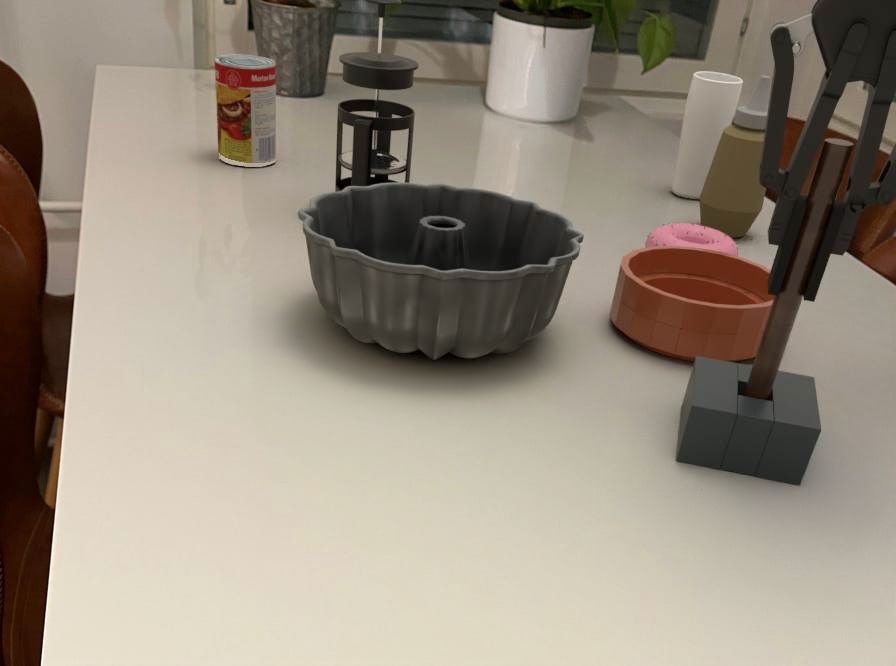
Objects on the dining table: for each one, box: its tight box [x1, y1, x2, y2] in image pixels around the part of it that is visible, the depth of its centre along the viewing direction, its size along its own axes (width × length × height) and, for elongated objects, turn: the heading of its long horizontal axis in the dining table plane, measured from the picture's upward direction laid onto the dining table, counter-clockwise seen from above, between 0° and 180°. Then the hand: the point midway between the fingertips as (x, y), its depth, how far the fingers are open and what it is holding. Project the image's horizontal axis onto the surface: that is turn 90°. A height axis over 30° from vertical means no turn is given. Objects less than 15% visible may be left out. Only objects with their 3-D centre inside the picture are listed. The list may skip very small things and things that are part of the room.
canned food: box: [214, 53, 277, 163], centre depth 132 cm, size 8×8×12 cm
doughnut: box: [644, 222, 740, 257], centre depth 115 cm, size 11×11×4 cm
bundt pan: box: [297, 181, 585, 361], centre depth 94 cm, size 26×26×10 cm
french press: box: [334, 0, 419, 192], centre depth 114 cm, size 12×9×23 cm
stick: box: [743, 137, 855, 400], centre depth 75 cm, size 2×2×22 cm
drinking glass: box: [670, 70, 744, 200], centre depth 136 cm, size 7×7×15 cm
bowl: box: [609, 246, 775, 363], centre depth 100 cm, size 17×17×6 cm
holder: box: [675, 356, 822, 486], centre depth 82 cm, size 10×10×5 cm
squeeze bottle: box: [699, 75, 771, 239], centre depth 123 cm, size 8×8×18 cm
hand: (790, 291), depth 75 cm, fingers closed on stick, 2 cm apart
